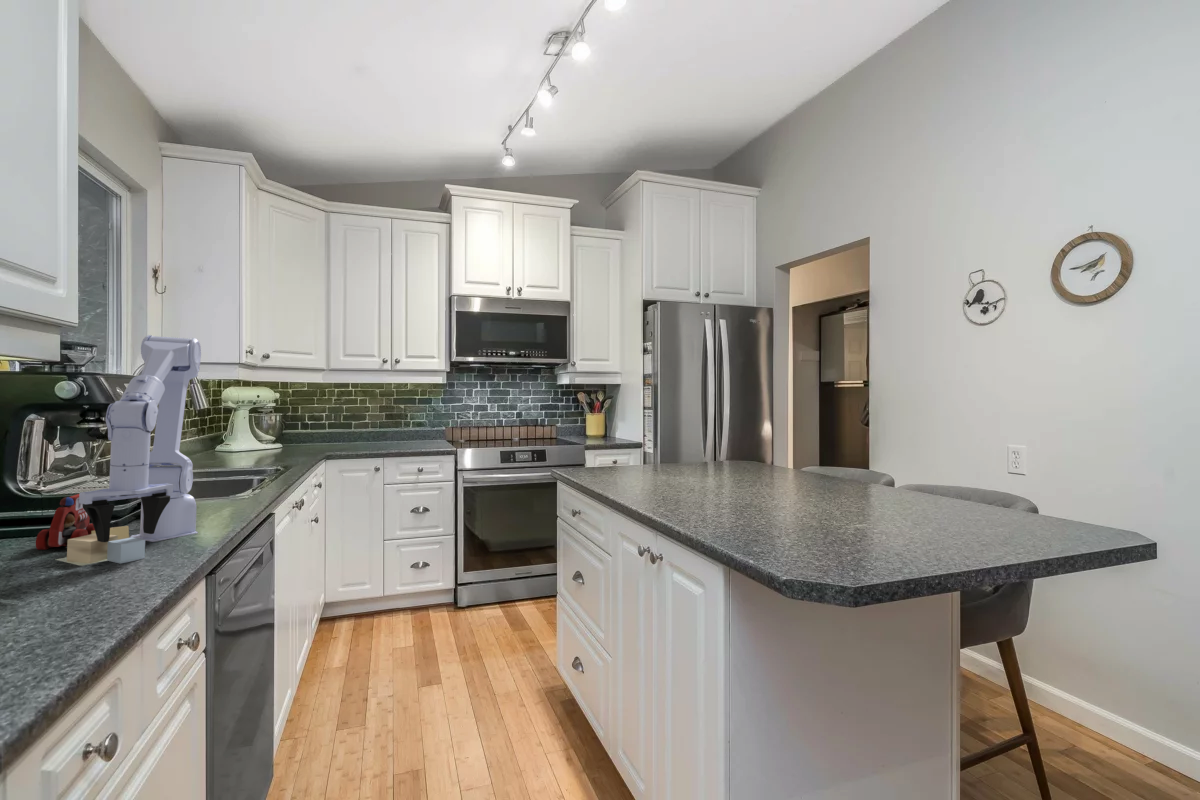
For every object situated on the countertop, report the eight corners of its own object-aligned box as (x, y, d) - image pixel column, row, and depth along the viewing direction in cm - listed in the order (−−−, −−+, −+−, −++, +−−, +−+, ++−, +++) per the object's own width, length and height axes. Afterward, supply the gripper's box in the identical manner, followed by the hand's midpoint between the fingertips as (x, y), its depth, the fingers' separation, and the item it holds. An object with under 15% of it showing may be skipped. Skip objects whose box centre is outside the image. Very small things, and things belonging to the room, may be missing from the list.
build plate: (117, 549, 116) (117, 547, 116) (142, 554, 113) (142, 552, 113) (55, 561, 107) (55, 559, 107) (81, 567, 104) (81, 565, 104)
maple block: (94, 554, 111) (95, 533, 111) (116, 556, 110) (117, 535, 110) (66, 561, 106) (67, 539, 106) (90, 563, 105) (91, 541, 105)
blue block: (131, 558, 111) (131, 537, 111) (144, 560, 110) (145, 539, 110) (106, 563, 108) (107, 541, 108) (120, 566, 106) (121, 544, 106)
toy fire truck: (28, 555, 110) (30, 500, 110) (65, 539, 122) (67, 490, 122) (73, 554, 112) (75, 500, 112) (105, 538, 124) (107, 490, 124)
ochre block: (112, 547, 117) (110, 527, 118) (129, 545, 117) (128, 525, 117) (92, 551, 113) (91, 531, 114) (110, 549, 113) (109, 529, 113)
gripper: (97, 469, 100) (94, 548, 100) (184, 463, 114) (181, 532, 114) (73, 466, 103) (69, 543, 103) (160, 460, 117) (157, 528, 116)
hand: (126, 537), depth 109 cm, fingers open, 7 cm apart
